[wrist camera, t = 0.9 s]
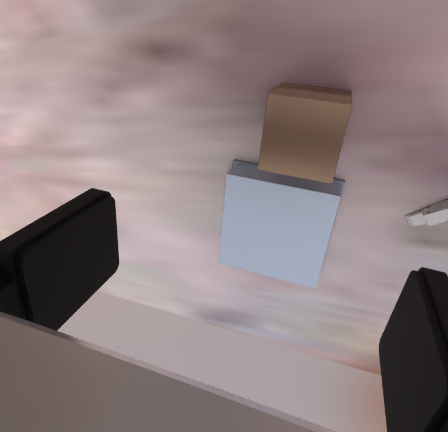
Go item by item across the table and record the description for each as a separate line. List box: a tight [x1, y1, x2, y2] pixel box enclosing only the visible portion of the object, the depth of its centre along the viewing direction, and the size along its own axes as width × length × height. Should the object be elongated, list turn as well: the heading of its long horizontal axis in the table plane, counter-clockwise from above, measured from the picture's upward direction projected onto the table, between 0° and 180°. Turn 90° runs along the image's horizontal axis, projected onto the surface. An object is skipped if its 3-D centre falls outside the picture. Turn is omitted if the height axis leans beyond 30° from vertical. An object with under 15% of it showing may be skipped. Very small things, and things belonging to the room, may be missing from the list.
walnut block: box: [258, 82, 352, 184], centre depth 24 cm, size 5×5×6 cm
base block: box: [218, 160, 345, 289], centre depth 30 cm, size 9×9×3 cm
